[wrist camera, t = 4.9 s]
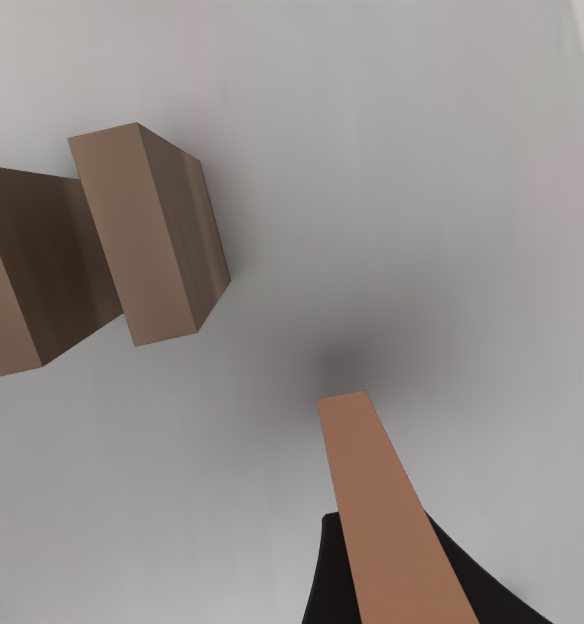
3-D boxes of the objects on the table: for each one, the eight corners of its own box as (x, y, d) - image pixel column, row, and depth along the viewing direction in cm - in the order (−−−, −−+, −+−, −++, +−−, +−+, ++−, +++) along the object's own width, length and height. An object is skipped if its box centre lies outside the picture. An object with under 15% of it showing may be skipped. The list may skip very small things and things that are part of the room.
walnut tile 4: (195, 288, 18) (134, 346, 11) (161, 170, 17) (67, 138, 10) (231, 280, 18) (197, 332, 11) (200, 161, 17) (136, 122, 10)
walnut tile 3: (105, 309, 19) (-20, 380, 11) (66, 192, 17) (-105, 177, 10) (141, 301, 19) (42, 366, 11) (104, 183, 17) (-37, 161, 10)
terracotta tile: (341, 529, 15) (412, 877, 7) (316, 399, 14) (367, 647, 6) (387, 520, 15) (506, 860, 7) (365, 389, 14) (480, 626, 6)
